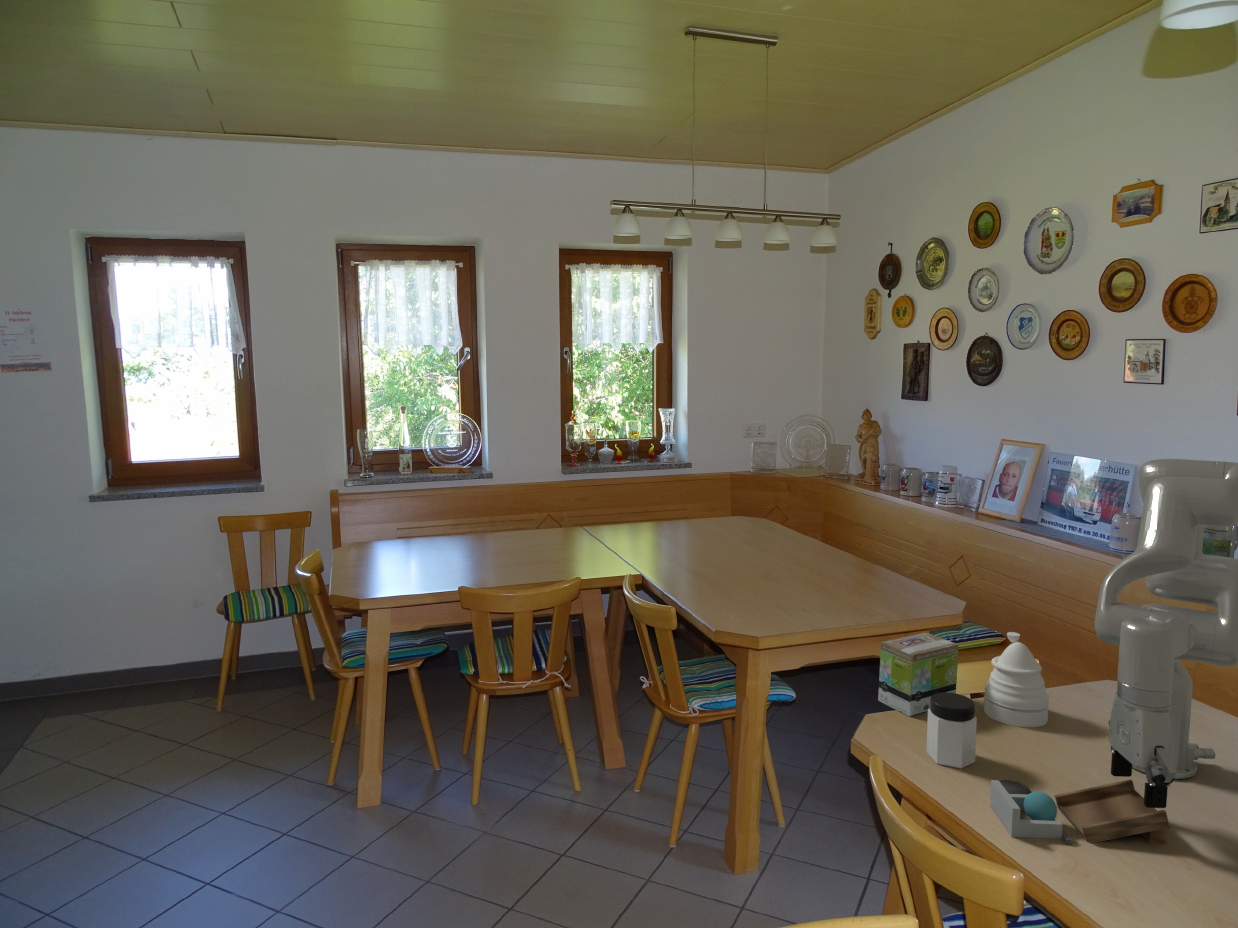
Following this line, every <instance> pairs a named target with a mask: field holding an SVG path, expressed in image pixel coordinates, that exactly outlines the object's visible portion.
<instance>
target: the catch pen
mask: <svg viewBox="0 0 1238 928" xmlns="http://www.w3.org/2000/svg"><path fill="white" fill-rule="evenodd" d="M999 780H1000V779H991V782H990V783H991V784H990V802H989V803H990V805H989V807H990V809H991V810H992V812H993V813H994V814H995V815H996V817H997V819H998V820H999V821H1000V823H1001V824H1002V826H1003V827H1004V829H1005V830H1006V831H1007V833H1008V834H1009V836H1010V838H1011V837H1012V838H1027V839H1028V838H1031V839H1032V838H1033V839H1058V840H1059V839H1061V840H1062V829H1063V826H1064V825H1063V822H1061V820H1056V821H1045V820H1032V819H1021V811H1022V812H1025V809H1024V800H1025V798H1026V796H1027V794H1009V793H1008V792H1007V791H1006V789H1005V788H1004V787H1003V786H1002V784H1001V783H1000V782H999Z"/></svg>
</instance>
